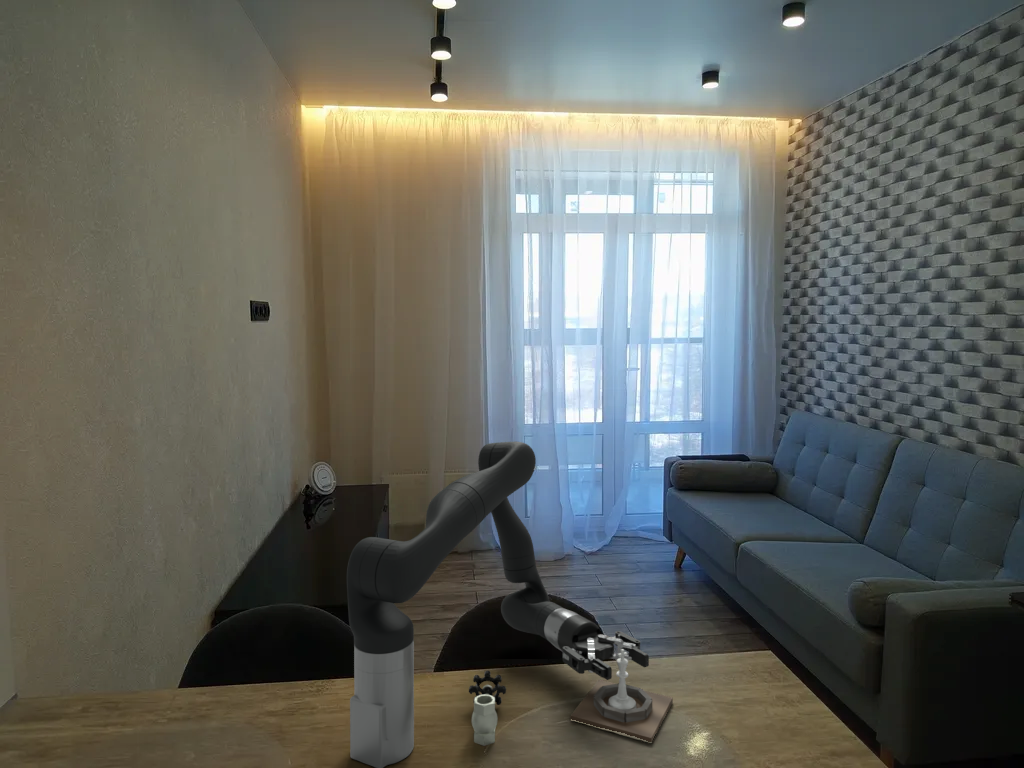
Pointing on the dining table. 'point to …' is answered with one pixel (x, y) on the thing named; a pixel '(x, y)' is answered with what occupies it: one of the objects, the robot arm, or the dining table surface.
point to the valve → (485, 708)
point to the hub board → (631, 721)
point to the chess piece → (622, 687)
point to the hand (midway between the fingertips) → (629, 667)
